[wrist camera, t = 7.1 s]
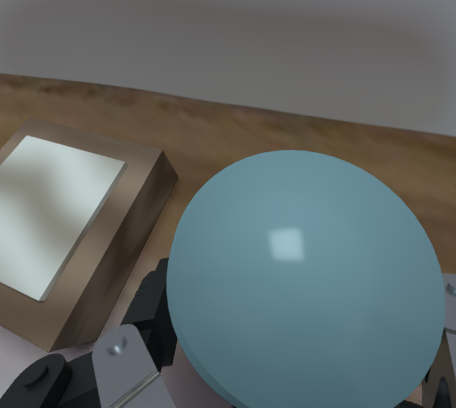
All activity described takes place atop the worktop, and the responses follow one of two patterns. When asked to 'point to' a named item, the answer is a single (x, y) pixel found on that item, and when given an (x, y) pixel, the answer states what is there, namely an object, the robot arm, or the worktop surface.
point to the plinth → (72, 227)
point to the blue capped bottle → (304, 286)
